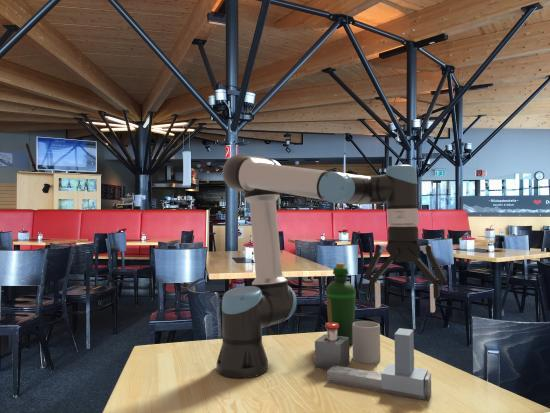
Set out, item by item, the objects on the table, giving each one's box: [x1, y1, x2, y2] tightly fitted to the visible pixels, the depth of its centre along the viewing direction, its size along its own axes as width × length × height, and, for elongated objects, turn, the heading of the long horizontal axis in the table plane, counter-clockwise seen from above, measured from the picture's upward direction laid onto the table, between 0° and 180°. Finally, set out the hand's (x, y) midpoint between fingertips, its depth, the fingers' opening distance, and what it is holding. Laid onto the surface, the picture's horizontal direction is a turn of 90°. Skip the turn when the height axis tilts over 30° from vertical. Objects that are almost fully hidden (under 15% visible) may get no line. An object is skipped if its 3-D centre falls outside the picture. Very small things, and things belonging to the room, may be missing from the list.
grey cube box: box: [314, 333, 351, 371], centre depth 129 cm, size 8×8×8 cm
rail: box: [326, 365, 432, 401], centre depth 112 cm, size 26×5×5 cm, turn 63°
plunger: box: [324, 322, 339, 342], centre depth 129 cm, size 4×4×9 cm
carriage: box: [380, 327, 429, 396], centre depth 109 cm, size 10×8×14 cm
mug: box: [352, 320, 381, 365], centre depth 136 cm, size 12×8×11 cm
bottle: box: [325, 262, 357, 346], centre depth 151 cm, size 11×11×28 cm
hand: (404, 309), depth 109 cm, fingers open, 13 cm apart
